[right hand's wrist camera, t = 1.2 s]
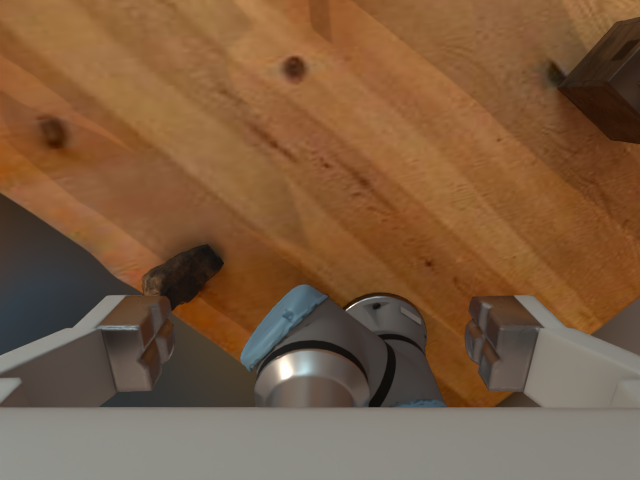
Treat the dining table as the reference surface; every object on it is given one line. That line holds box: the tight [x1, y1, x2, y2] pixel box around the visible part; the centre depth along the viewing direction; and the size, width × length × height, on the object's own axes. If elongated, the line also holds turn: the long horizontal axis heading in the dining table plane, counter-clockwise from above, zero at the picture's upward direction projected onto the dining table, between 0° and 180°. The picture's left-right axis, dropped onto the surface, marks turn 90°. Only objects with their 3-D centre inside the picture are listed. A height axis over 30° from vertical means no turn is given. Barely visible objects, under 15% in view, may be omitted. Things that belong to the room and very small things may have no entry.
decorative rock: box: [141, 245, 224, 311], centre depth 54 cm, size 12×6×11 cm, turn 116°
